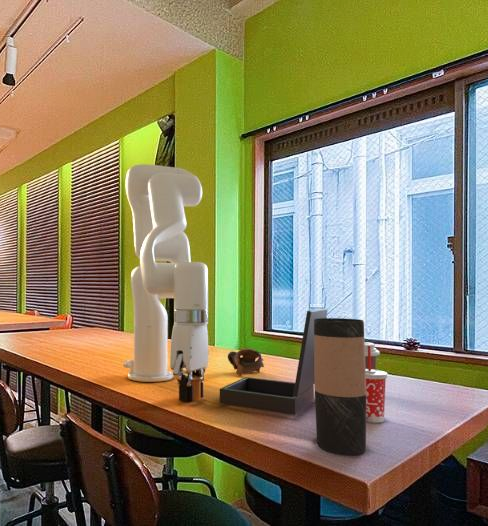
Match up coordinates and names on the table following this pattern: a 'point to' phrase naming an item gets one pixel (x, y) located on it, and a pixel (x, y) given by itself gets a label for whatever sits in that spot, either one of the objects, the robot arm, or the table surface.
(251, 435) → the table surface
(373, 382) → the beverage cup
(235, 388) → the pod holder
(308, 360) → the lid
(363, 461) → the table surface
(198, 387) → the orange brown spool
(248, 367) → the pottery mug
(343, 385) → the travel mug
